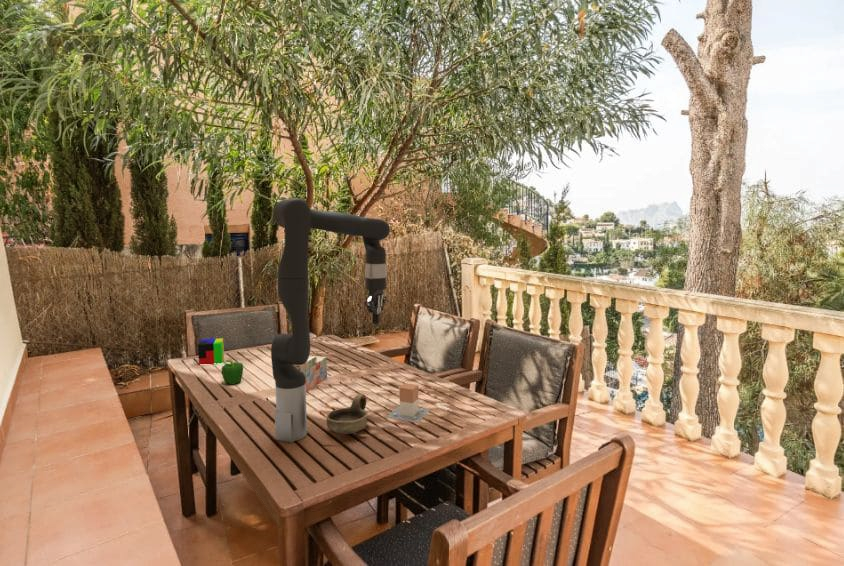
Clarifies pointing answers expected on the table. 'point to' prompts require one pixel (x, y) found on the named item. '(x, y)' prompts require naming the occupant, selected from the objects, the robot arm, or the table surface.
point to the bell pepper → (232, 372)
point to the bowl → (349, 417)
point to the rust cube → (408, 393)
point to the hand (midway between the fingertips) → (376, 323)
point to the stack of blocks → (313, 370)
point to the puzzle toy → (211, 351)
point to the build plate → (415, 418)
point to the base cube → (408, 408)
